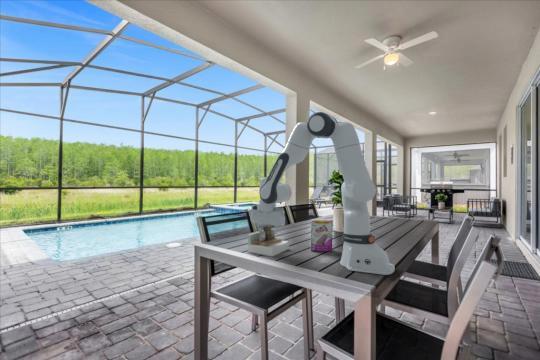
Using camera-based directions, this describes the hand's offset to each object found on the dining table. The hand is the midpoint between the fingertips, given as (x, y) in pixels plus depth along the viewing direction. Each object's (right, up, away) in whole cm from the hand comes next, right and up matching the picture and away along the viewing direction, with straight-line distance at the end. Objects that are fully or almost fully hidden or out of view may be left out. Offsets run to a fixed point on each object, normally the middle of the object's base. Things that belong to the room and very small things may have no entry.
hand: (267, 232), depth 141 cm
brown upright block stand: (0, -5, 0) cm, 5 cm away
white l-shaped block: (+1, -9, 0) cm, 9 cm away
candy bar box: (+29, -10, 0) cm, 30 cm away
